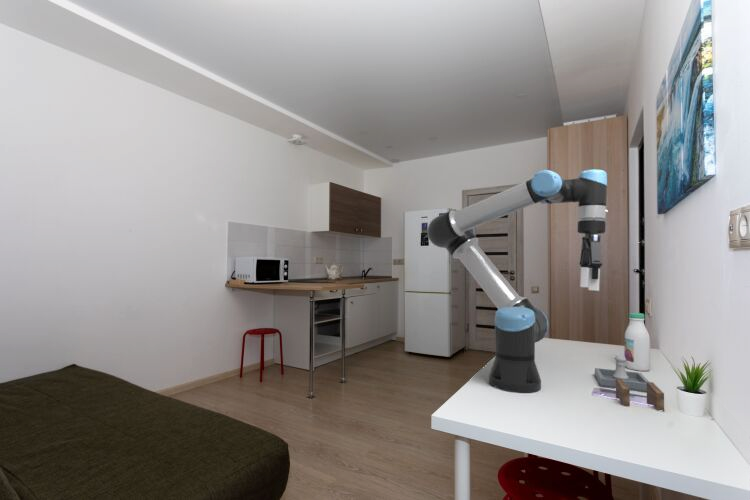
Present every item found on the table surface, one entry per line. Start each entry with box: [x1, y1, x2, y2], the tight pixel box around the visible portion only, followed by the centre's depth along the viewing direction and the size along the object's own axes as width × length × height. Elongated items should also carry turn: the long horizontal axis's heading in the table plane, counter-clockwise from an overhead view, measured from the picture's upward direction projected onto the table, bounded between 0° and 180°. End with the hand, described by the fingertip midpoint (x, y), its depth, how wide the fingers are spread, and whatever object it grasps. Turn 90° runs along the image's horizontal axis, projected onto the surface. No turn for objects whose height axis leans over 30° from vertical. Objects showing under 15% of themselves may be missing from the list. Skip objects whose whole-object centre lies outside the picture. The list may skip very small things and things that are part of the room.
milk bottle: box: [623, 312, 651, 372], centre depth 137 cm, size 8×8×20 cm
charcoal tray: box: [594, 367, 650, 393], centre depth 119 cm, size 13×13×2 cm
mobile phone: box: [590, 387, 654, 407], centre depth 107 cm, size 8×1×15 cm
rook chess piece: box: [613, 354, 629, 381], centre depth 119 cm, size 4×4×8 cm
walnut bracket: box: [615, 378, 665, 412], centre depth 103 cm, size 9×10×4 cm
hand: (589, 288), depth 117 cm, fingers open, 13 cm apart
